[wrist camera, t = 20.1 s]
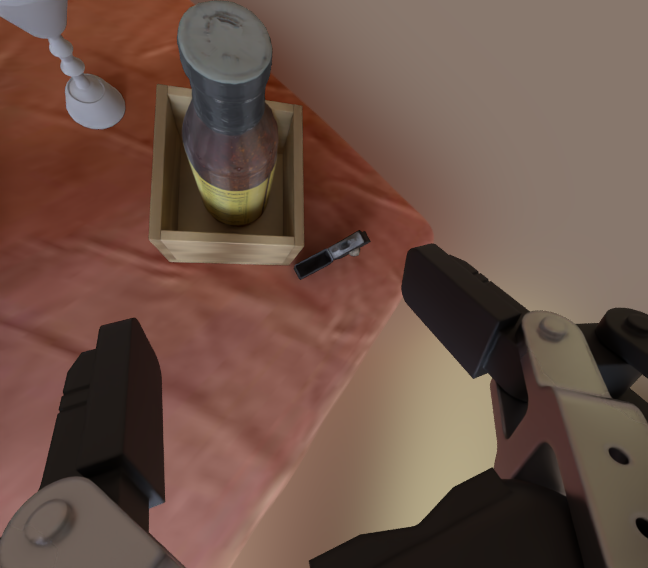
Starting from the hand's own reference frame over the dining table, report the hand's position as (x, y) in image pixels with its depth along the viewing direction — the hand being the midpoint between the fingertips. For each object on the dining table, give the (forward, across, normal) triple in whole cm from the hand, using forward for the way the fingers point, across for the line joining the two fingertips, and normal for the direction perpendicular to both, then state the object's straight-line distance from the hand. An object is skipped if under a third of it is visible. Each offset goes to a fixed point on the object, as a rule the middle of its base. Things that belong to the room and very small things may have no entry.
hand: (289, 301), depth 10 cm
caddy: (+26, -1, +8) cm, 27 cm away
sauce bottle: (+25, -1, +8) cm, 27 cm away
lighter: (+20, -10, +14) cm, 27 cm away
